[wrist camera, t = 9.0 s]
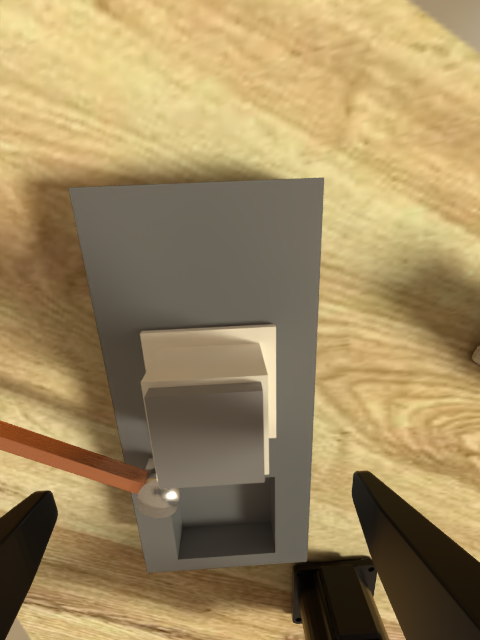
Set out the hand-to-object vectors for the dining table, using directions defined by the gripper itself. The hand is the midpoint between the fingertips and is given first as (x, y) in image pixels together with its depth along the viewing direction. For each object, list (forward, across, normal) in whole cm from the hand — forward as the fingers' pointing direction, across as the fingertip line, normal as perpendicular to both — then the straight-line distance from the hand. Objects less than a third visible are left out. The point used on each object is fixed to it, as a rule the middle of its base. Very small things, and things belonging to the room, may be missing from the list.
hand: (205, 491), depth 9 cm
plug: (+8, 0, 0) cm, 8 cm away
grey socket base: (+9, 0, +2) cm, 9 cm away
